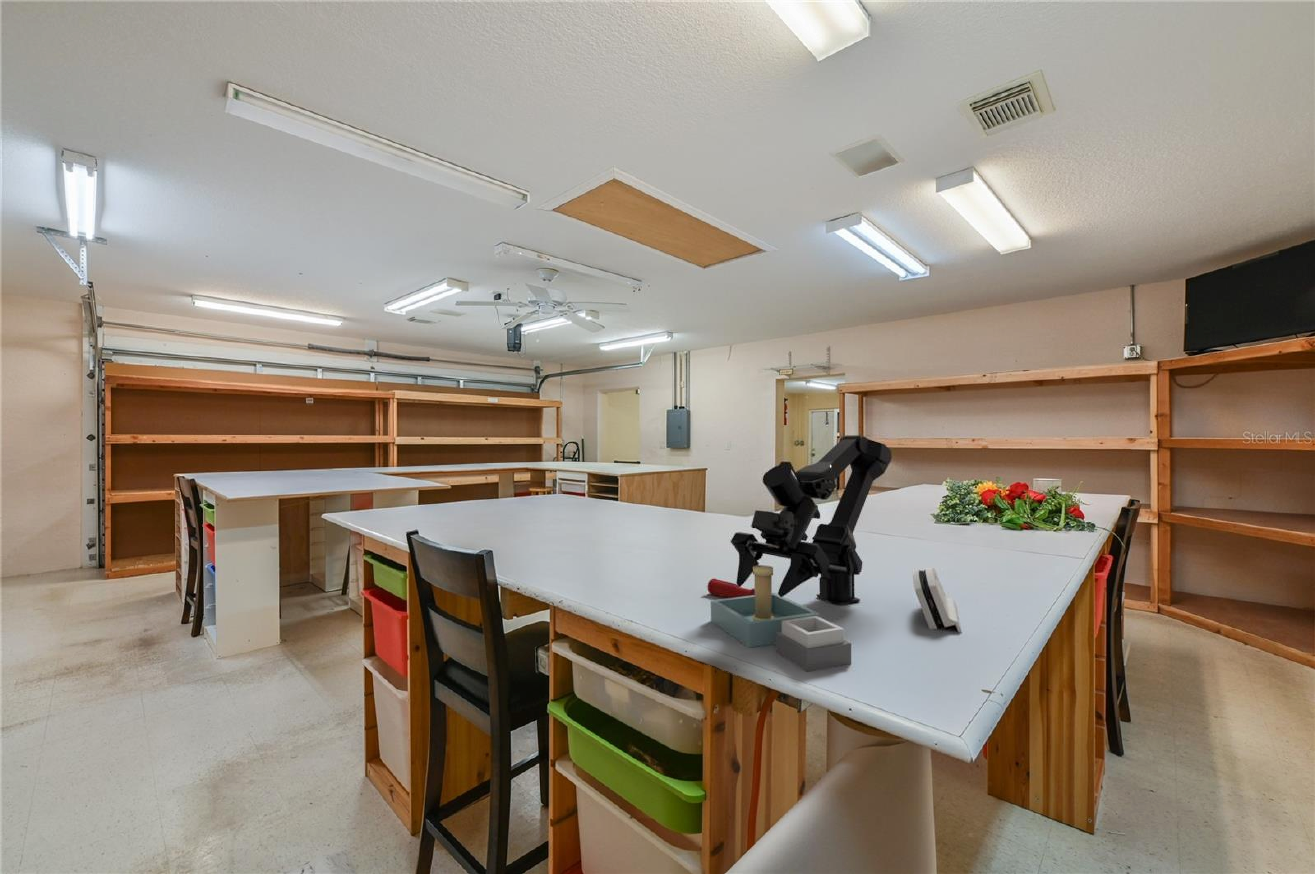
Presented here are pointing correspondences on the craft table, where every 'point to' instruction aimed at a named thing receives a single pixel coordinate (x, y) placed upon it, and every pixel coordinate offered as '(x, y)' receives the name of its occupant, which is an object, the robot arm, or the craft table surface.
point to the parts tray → (740, 624)
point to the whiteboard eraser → (935, 600)
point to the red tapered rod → (728, 589)
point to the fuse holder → (813, 643)
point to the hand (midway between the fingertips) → (758, 590)
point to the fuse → (763, 592)
